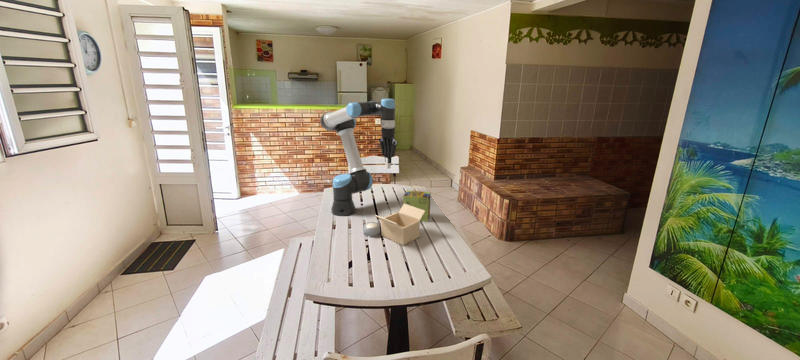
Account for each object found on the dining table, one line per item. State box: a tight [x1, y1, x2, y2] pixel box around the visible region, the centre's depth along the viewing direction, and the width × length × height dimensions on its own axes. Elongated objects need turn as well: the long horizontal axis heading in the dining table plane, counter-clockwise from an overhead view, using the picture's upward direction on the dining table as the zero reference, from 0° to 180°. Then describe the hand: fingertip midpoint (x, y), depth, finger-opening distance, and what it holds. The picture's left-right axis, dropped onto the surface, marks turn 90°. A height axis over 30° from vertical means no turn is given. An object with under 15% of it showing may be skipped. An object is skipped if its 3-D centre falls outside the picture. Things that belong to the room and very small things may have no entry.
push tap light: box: [363, 221, 381, 238], centre depth 188 cm, size 9×9×5 cm
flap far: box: [398, 204, 425, 220], centre depth 189 cm, size 15×6×1 cm
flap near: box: [374, 214, 402, 229], centre depth 175 cm, size 15×6×1 cm
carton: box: [380, 211, 421, 246], centre depth 184 cm, size 17×13×10 cm
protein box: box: [402, 190, 431, 223], centre depth 208 cm, size 10×15×16 cm
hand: (388, 168), depth 196 cm, fingers closed
